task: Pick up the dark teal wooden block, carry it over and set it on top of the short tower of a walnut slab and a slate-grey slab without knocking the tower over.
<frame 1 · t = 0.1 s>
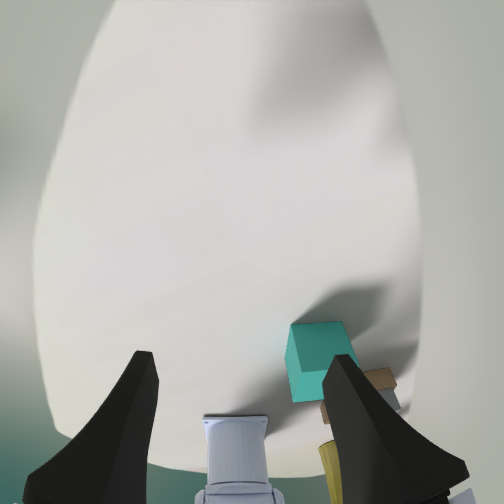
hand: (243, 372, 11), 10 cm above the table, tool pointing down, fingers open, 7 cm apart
vase: (335, 443, 41), on the table
slate slab: (360, 406, 28), point 3 cm above the table, touching walnut slab
walnut slab: (353, 386, 31), on the table, touching slate slab
teal block: (312, 340, 25), on the table
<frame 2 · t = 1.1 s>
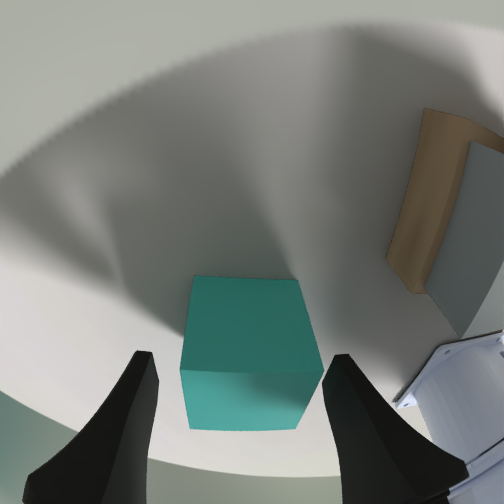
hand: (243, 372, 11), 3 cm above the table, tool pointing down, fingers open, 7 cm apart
slate slab: (493, 226, 9), point 3 cm above the table, touching walnut slab
walnut slab: (456, 196, 11), on the table, touching slate slab
teal block: (242, 315, 14), on the table
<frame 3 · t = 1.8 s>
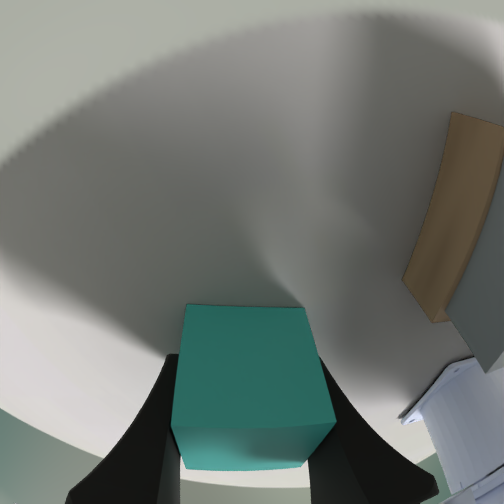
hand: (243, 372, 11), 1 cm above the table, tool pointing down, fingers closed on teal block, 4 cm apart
walnut slab: (478, 210, 10), on the table
teal block: (242, 345, 12), on the table, touching gripper
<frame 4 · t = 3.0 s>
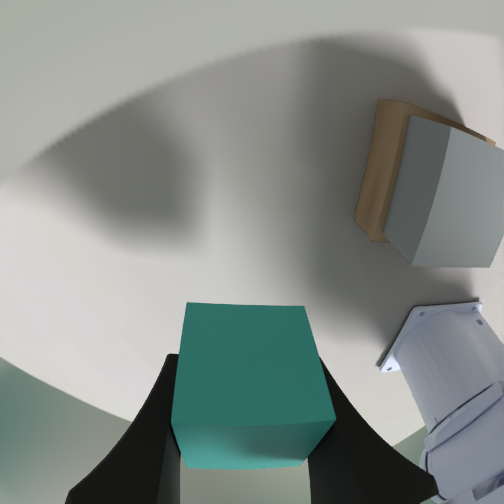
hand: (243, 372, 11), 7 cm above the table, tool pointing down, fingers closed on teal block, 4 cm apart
slate slab: (442, 185, 12), point 3 cm above the table, touching walnut slab
walnut slab: (414, 169, 15), on the table, touching slate slab
teal block: (242, 344, 12), point 6 cm above the table, touching gripper
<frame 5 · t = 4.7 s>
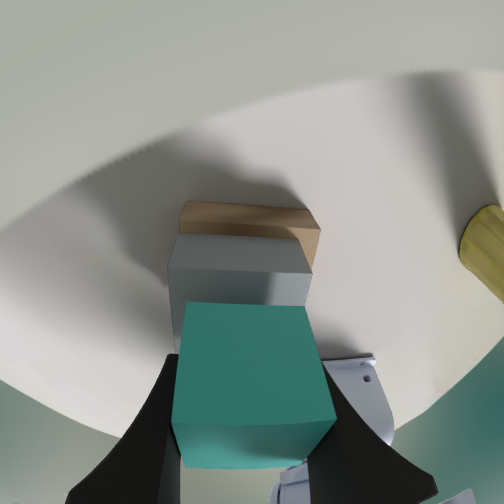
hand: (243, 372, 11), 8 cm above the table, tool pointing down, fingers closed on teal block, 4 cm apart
vase: (481, 236, 19), on the table
slate slab: (235, 284, 16), point 3 cm above the table, touching walnut slab
walnut slab: (243, 254, 19), on the table, touching slate slab
teal block: (241, 343, 12), point 7 cm above the table, touching gripper
when the fingers open (8 cm above the table, at t = 4.8 s): teal block drops 1 cm, resting on slate slab.
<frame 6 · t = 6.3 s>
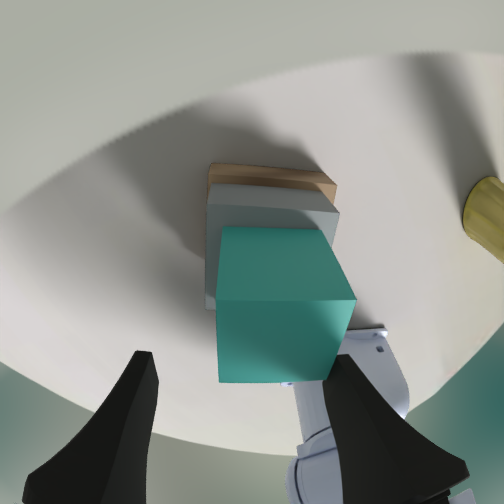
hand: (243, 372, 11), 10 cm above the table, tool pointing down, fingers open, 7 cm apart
vase: (482, 207, 20), on the table
slate slab: (262, 236, 17), point 2 cm above the table, touching teal block, walnut slab
walnut slab: (262, 216, 19), on the table, touching slate slab
teal block: (269, 269, 14), point 6 cm above the table, touching gripper, slate slab
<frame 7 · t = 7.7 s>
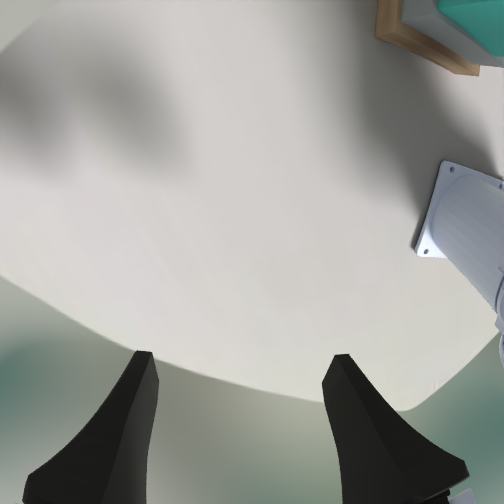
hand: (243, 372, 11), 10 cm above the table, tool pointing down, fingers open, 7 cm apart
slate slab: (443, 6, 9), point 3 cm above the table, touching walnut slab
walnut slab: (419, 14, 12), on the table, touching slate slab
teal block: (472, 3, 7), point 6 cm above the table
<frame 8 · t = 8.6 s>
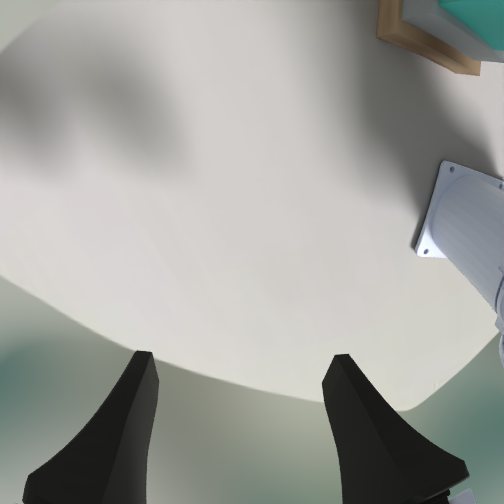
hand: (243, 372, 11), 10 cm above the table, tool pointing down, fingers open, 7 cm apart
slate slab: (443, 2, 9), point 3 cm above the table, touching teal block, walnut slab
walnut slab: (420, 14, 12), on the table, touching slate slab
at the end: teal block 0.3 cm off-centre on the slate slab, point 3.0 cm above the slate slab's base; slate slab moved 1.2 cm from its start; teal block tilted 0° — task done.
